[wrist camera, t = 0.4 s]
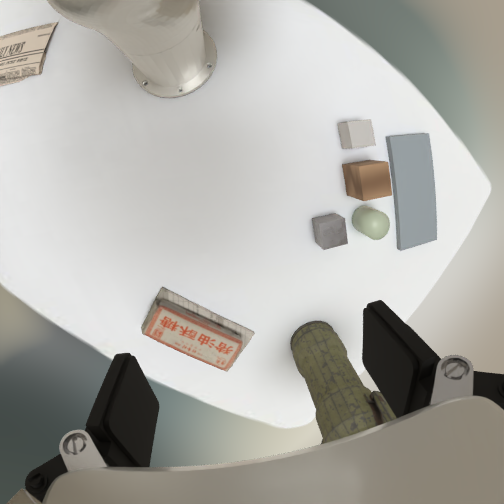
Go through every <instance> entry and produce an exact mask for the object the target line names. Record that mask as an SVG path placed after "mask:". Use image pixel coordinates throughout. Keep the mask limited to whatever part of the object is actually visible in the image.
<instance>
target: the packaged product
mask: <svg viewBox="0 0 504 504" xmlns="http://www.w3.org/2000/svg"><path fill="white" fill-rule="evenodd" d="M141 329H142V334H144V335H146V336H149V337H150V338H152V339H154V340H156V341H158V342H160V343H162V344H165V345H166V346H168V347H171V348H173V349H175V350H177V351H179V352H182V353H184V354H187V355H188V356H191V357H193V358H195V359H198V360H200V361H202V362H205V363H207V364H210V365H212V366H214V367H217V368H219V369H221V370H224V371H228V370H229V369H230V367H231V366H232V365H233V363H234V362H235V361H236V359H237V358H238V356H239V355H240V353H241V352H242V351H243V349H244V348H245V347H246V345H247V344H248V342H249V341H250V340H251V338H252V336H253V335H254V334H255V333H254V332H253V331H251V330H249V329H247V328H245V327H243V326H241V325H238V324H236V323H234V322H232V321H229V320H227V319H225V318H223V317H221V316H219V315H217V314H215V313H213V312H211V311H209V310H208V309H206V308H204V307H202V306H200V305H198V304H196V303H193V302H190V301H189V300H187V299H185V298H183V297H181V296H179V295H177V294H175V293H173V292H171V291H169V290H167V289H165V288H163V287H162V288H161V290H160V292H159V293H158V295H157V297H156V299H155V301H154V303H153V305H152V307H151V309H150V311H149V313H148V315H147V318H146V320H145V321H144V323H143V325H142V327H141Z"/></svg>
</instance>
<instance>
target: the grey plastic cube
mask: <svg viewBox="0 0 504 504" xmlns="http://www.w3.org/2000/svg"><path fill="white" fill-rule="evenodd" d="M337 125H338V130H339V135H340V140H341V145H342V149H346V148H359V147H367V146H374V145H376V144H375V138H374V133H373V127H372V122H371V119H369V120H359V121H349V122H344V123H339V124H337Z"/></svg>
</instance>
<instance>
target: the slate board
mask: <svg viewBox="0 0 504 504" xmlns="http://www.w3.org/2000/svg"><path fill="white" fill-rule="evenodd" d="M386 141H387V147H388V153H389V160H390V167H391V175H392V183H393V192H394V203H395V215H396V230H397V249H399V250H400V251H402V250H405V249H408V248H412V247H415V246H418V245H421V244H425V243H428V242H431V241H434V240H437V216H436V194H435V181H434V170H433V160H432V152H431V145H430V138H429V133H427V134H412V135H400V136H389V137H386Z"/></svg>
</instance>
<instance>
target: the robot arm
mask: <svg viewBox="0 0 504 504" xmlns="http://www.w3.org/2000/svg"><path fill="white" fill-rule="evenodd" d="M47 1H48V2H49V4H50V5H51V6H52V7H53V8H54V9H55V10H56V11H57V12H58V13H60V14H61V15H62V16H64V17H65V18H67V19H69V20H70V21H72V22H74V23H77V24H79V25H82V26H84V27H87V28H90V29H93V30H96V31H98V32H100V33H101V34H103V35H104V36H105V37H107V38H108V39H109V40H110V41H111V42H112V43H113V44H114V45H115V46H116V47H117V48H118V49H119V50H120V51H121V52H122V53H123V54H124V55H125V56H126V57H127V58H128V59H129V60H130V61H131V62H132V67H133V74H134V77H135V79H136V81H137V82H138V84H139V85H140V86H141V87H142V88H143V89H144V90H146V91H147V92H149V93H151V94H152V95H155V96H158V97H165V98H174V97H180V96H184V95H187V94H189V93H191V92H193V91H195V90H197V89H198V88H200V87H201V86H202V85H203V84H204V83H205V82H206V81H207V80H208V79H209V77H210V76H211V74H212V72H213V71H214V68H215V65H216V59H217V51H216V47H215V44H214V42H213V40H212V38H211V37H210V36H209V35H208V33H206V32H205V31H204V30H203V29H202V21H201V14H200V6H199V0H47ZM208 66H211V68H208ZM146 83H148V84H147V85H146V86H145V84H146ZM180 90H183V91H182V92H179V91H180ZM362 360H363V364H364V367H365V368H366V370H367V371H368V373H369V374H370V376H371V377H372V379H373V381H374V382H375V384H376V385H377V387H378V389H379V390H380V392H381V393H382V395H383V397H384V398H385V400H386V402H387V403H388V405H389V406H390V408H391V410H392V411H393V413H394V414H395V416H396V418H397V419H394V420H392V421H389V422H387V423H384V424H381V425H379V426H376V427H373V428H370V429H368V430H365V431H362V432H359V433H356V434H353V435H350V436H347V437H344V438H341V439H338V440H334V441H331V442H327V443H324V444H320V445H317V446H313V447H309V448H305V449H301V450H297V451H292V452H288V453H283V454H278V455H273V456H268V457H263V458H257V459H251V460H244V461H237V462H230V463H221V464H211V465H201V466H184V467H149V466H150V458H151V453H152V446H153V440H154V434H155V428H156V423H157V417H158V412H159V402H158V400H157V398H156V396H155V394H154V392H153V391H152V389H151V387H150V385H149V383H148V381H147V379H146V377H145V375H144V373H143V372H142V370H141V368H140V366H139V364H138V362H137V359H136V358H135V356H131V354H130V353H122V354H116V355H115V356H114V359H113V361H112V363H111V365H110V368H109V370H108V372H107V374H106V377H105V379H104V381H103V384H102V386H101V388H100V391H99V393H98V396H97V398H96V400H95V403H94V405H93V408H92V410H91V413H90V416H89V418H88V420H87V423H86V426H87V427H86V429H85V431H83V430H74V431H71V432H69V433H68V434H66V435H65V436H64V437H63V438H62V440H61V442H60V446H59V448H60V453H61V454H59V455H58V456H56V457H54V458H53V459H51V460H50V461H48V462H46V463H44V464H43V465H41V466H39V467H37V468H36V469H34V470H32V471H31V472H30V473H29V474H28V476H27V478H26V481H25V486H26V490H23V489H21V490H20V491H19V492H18V493H17V494H16V495H15V496H14V497H13V498H12V499H11V500H10V501H9V502H8V503H7V504H504V374H495V373H486V372H477V371H473V365H472V363H471V362H470V361H469V360H468V359H467V358H465V357H462V356H459V355H450V356H446V357H444V358H443V359H441V358H440V357H439V356H438V355H437V354H436V353H435V352H434V351H433V350H432V349H431V348H430V347H429V346H428V345H427V344H426V343H425V342H424V341H423V340H422V339H421V338H420V337H419V336H418V335H417V334H416V333H415V332H414V331H413V330H412V329H411V327H409V326H408V325H407V324H405V323H404V322H403V321H402V320H401V319H400V318H399V317H398V316H397V315H396V314H395V313H394V312H393V311H392V310H391V309H390V308H389V307H388V306H387V305H386V304H385V303H384V302H383V301H382V300H378V301H375V302H372V303H368V304H367V308H364V310H363V353H362Z"/></svg>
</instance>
